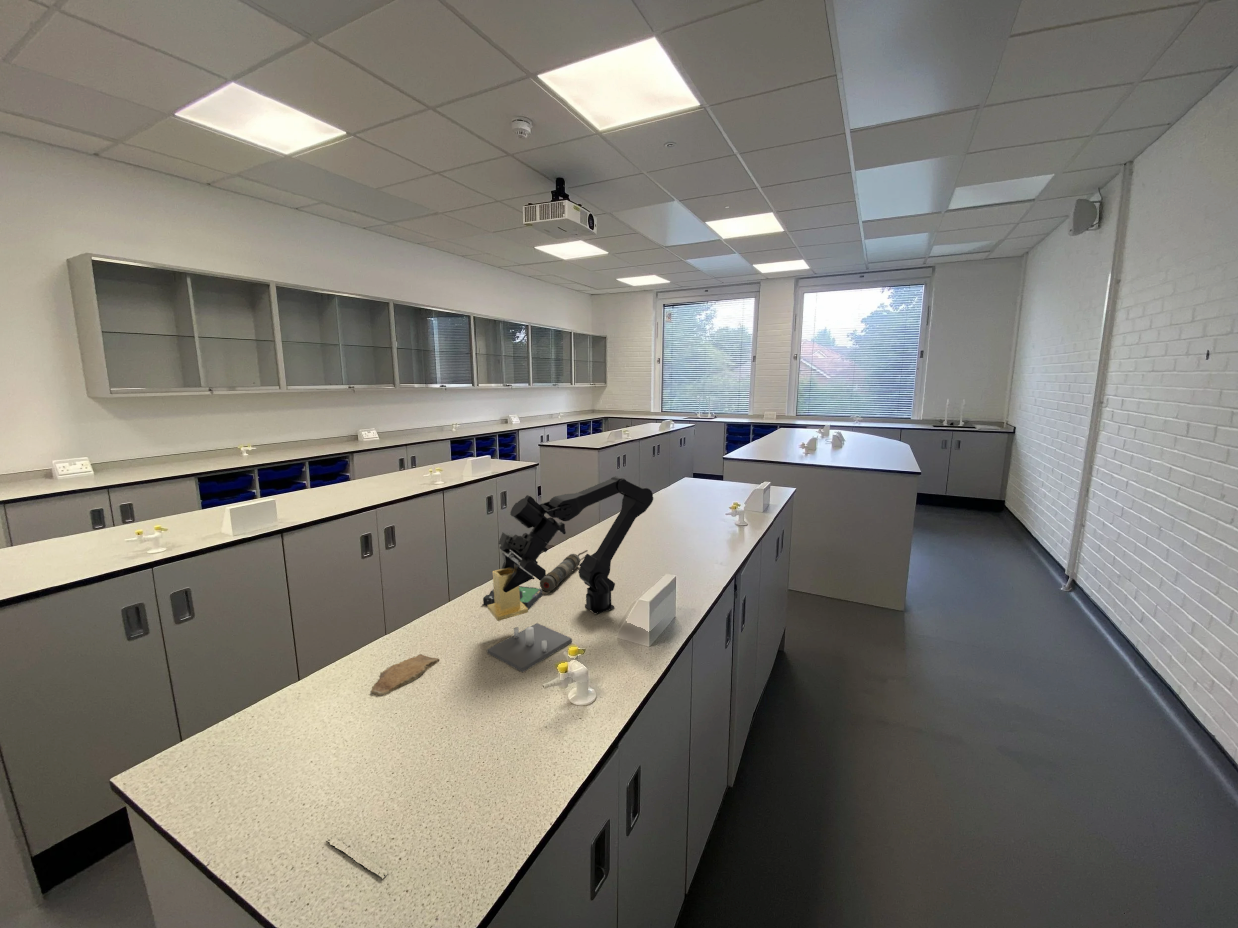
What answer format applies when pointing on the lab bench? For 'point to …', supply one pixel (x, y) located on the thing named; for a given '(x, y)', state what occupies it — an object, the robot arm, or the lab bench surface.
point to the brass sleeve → (505, 597)
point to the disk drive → (526, 596)
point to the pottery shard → (402, 674)
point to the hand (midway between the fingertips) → (500, 587)
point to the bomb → (560, 572)
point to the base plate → (529, 646)
